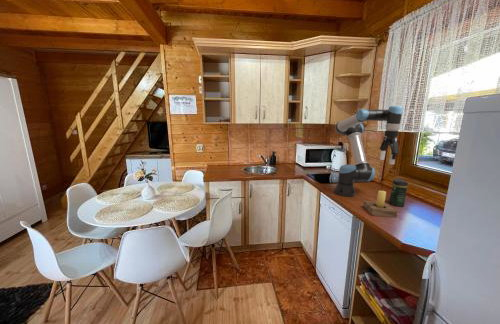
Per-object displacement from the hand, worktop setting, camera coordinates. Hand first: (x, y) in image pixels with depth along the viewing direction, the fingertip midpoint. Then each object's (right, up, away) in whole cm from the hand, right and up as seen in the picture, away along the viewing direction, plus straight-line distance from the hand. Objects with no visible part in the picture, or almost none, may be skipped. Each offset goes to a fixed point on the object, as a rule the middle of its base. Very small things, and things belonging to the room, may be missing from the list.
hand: (386, 162), depth 140 cm
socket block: (-8, -33, -4) cm, 34 cm away
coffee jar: (+13, -31, +9) cm, 35 cm away
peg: (-8, -33, -4) cm, 34 cm away
